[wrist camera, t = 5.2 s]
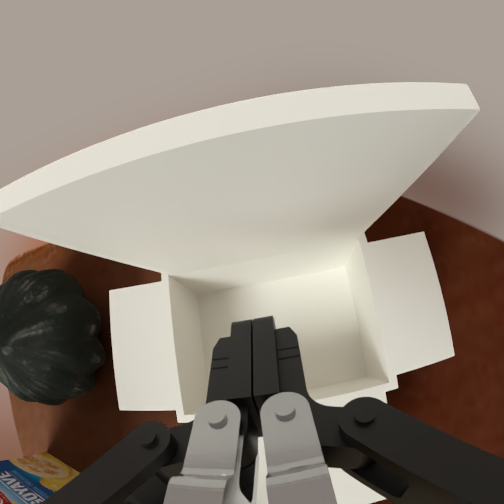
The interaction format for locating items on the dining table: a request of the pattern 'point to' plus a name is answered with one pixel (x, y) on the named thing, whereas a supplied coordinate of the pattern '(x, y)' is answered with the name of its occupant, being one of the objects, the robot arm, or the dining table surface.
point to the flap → (242, 176)
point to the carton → (286, 315)
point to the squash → (48, 337)
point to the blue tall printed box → (32, 478)
